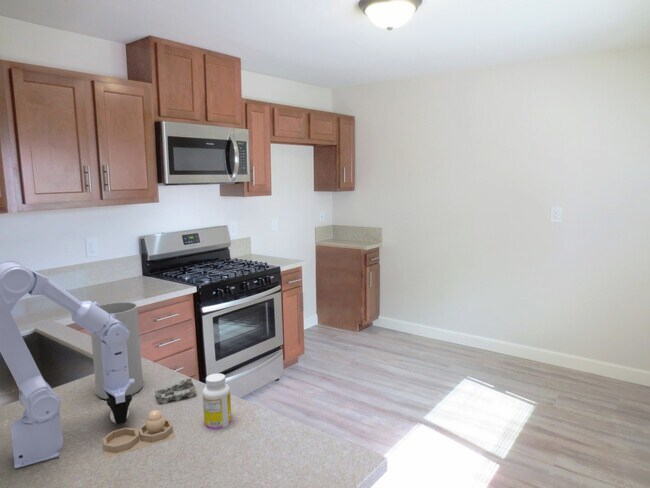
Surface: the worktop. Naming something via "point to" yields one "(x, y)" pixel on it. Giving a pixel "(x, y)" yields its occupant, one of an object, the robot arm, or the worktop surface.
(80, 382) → the worktop surface
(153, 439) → the egg tray
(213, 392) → the supplement bottle
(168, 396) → the egg carton
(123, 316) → the cylinder vase
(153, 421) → the brown egg
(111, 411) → the cream egg
